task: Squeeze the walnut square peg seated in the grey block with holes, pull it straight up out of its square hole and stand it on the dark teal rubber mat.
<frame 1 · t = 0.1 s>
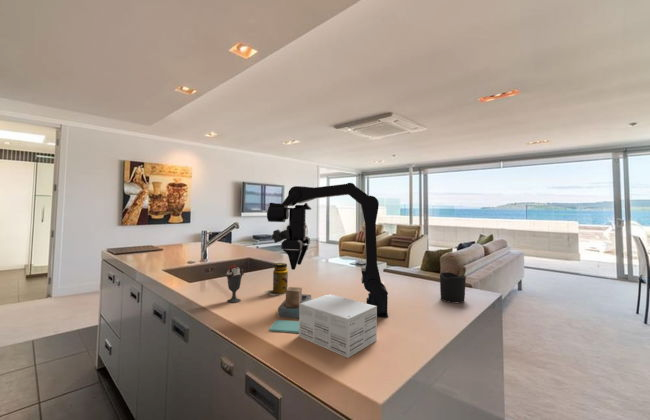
hand: (296, 266, 97), 15 cm above the worktop, tool pointing down, fingers open, 9 cm apart
supplement box: (337, 339, 74), on the worktop
condiment: (278, 293, 116), on the worktop
peg: (293, 313, 92), resting in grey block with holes
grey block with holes: (295, 309, 96), on the worktop
mat: (287, 327, 81), on the worktop
pen holder: (452, 300, 110), on the worktop
sundae: (233, 301, 104), on the worktop
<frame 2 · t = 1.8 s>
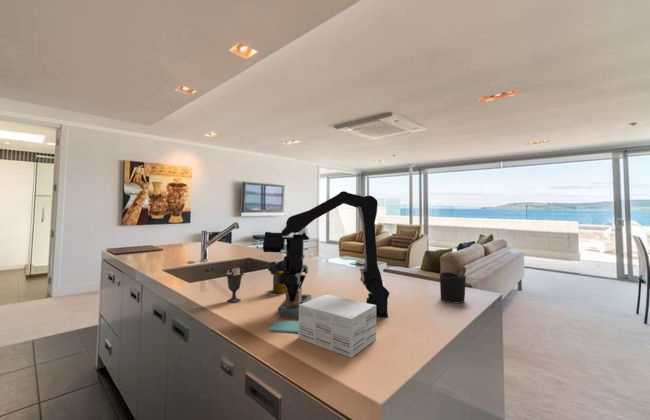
hand: (293, 299, 92), 5 cm above the worktop, tool pointing down, fingers closed on peg, 4 cm apart
peg: (293, 313, 92), resting in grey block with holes, touching gripper
everything else where it was.
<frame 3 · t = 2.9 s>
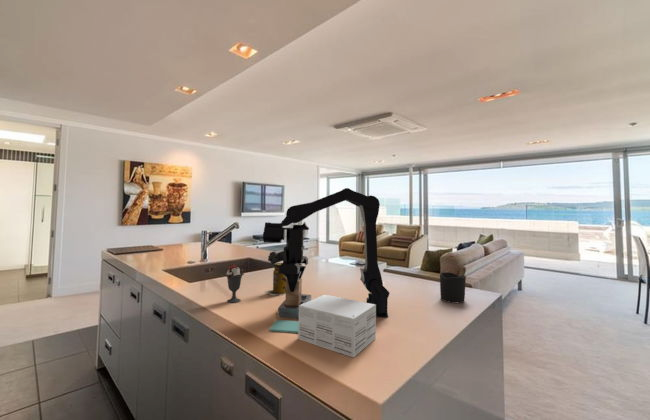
hand: (293, 289, 92), 8 cm above the worktop, tool pointing down, fingers closed on peg, 4 cm apart
peg: (293, 303, 92), point 3 cm above the worktop, touching gripper
everything else where it was.
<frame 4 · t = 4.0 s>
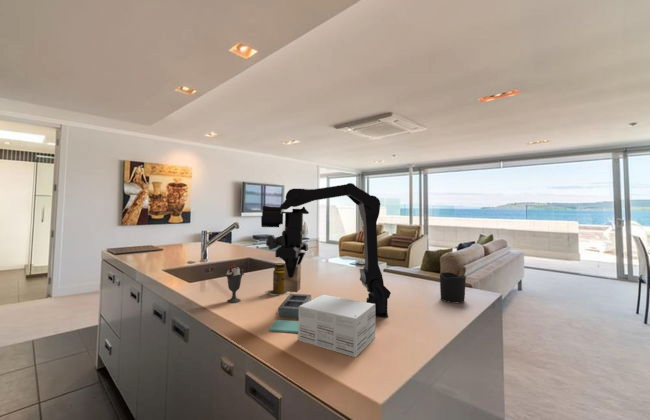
hand: (292, 275, 89), 13 cm above the worktop, tool pointing down, fingers closed on peg, 4 cm apart
peg: (292, 290, 89), point 9 cm above the worktop, touching gripper
everything else where it was.
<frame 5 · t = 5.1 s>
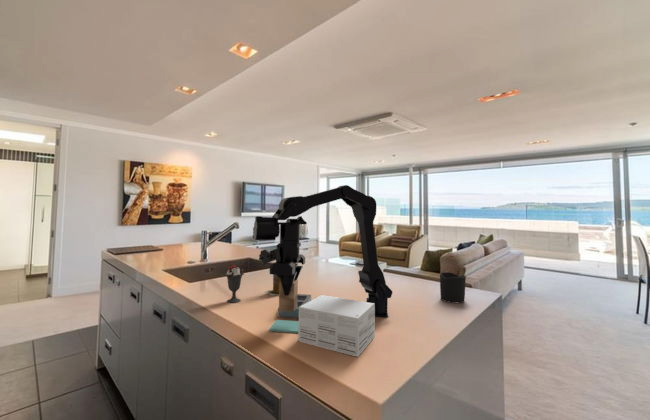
hand: (288, 293, 81), 10 cm above the worktop, tool pointing down, fingers closed on peg, 4 cm apart
peg: (288, 308, 81), point 5 cm above the worktop, touching gripper
when the fingers open (6 cm above the worktop, at t = 6.0 s): peg drops 1 cm, resting on mat.
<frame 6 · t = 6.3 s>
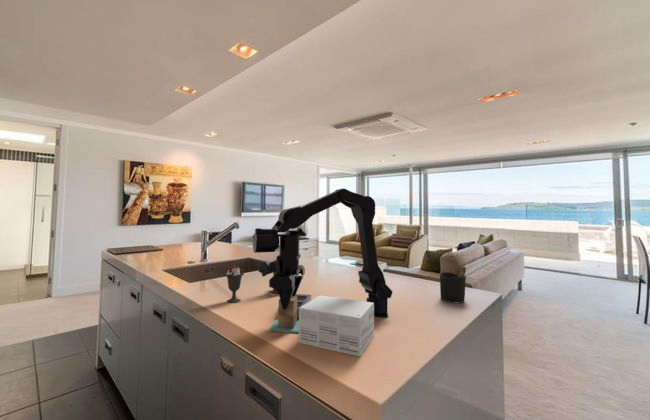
hand: (288, 304, 81), 6 cm above the worktop, tool pointing down, fingers open, 7 cm apart
peg: (287, 325, 81), resting on mat
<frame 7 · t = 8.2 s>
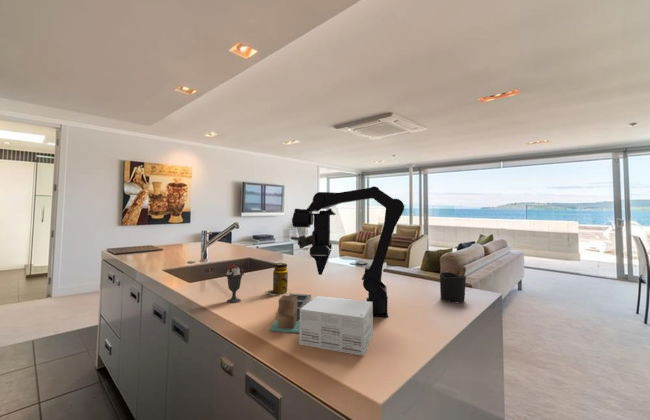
hand: (321, 272, 98), 13 cm above the worktop, tool pointing down, fingers open, 9 cm apart
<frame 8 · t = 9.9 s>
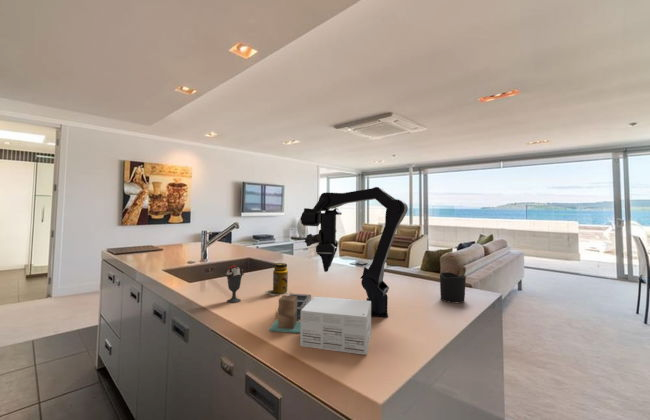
hand: (327, 269, 102), 13 cm above the worktop, tool pointing down, fingers open, 9 cm apart
at the end: peg inside the target area on the mat (0.0 cm from its centre), point 0.5 cm above the mat's base; peg tilted 0°; the gripper is holding nothing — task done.
